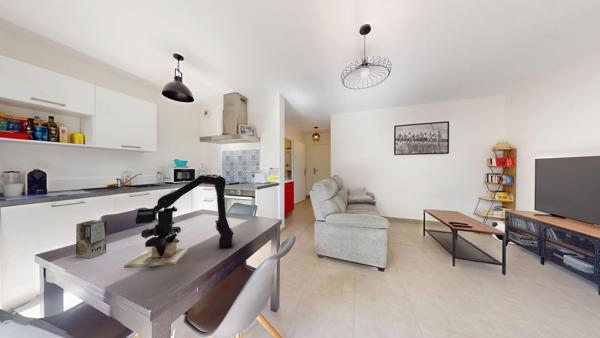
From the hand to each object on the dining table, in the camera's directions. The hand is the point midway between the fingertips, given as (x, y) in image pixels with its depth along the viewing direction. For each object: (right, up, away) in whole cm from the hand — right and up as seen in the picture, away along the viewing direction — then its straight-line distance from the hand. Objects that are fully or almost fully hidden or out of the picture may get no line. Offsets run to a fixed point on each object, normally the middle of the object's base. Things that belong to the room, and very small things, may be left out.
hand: (164, 253), depth 84 cm
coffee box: (-38, -2, +2) cm, 38 cm away
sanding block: (0, -1, 0) cm, 1 cm away
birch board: (-2, -2, 0) cm, 3 cm away
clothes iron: (-11, -3, +15) cm, 19 cm away
